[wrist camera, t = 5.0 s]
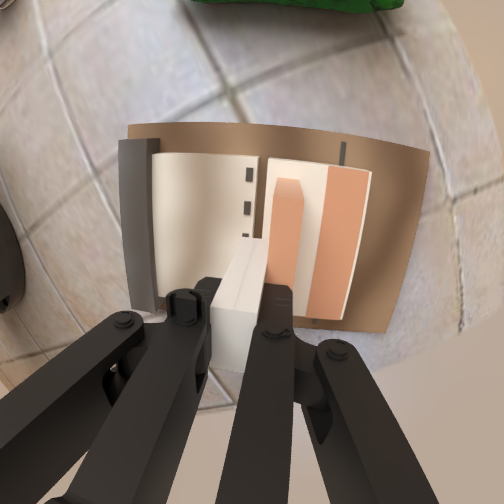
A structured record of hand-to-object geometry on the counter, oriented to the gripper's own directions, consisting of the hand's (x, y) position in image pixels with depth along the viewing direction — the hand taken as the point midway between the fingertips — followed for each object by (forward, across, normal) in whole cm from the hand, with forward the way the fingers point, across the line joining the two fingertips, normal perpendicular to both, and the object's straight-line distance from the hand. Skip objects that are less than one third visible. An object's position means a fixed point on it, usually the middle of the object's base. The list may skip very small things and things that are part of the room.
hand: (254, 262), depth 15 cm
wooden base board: (+5, 0, 0) cm, 5 cm away
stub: (+4, +3, 0) cm, 5 cm away
